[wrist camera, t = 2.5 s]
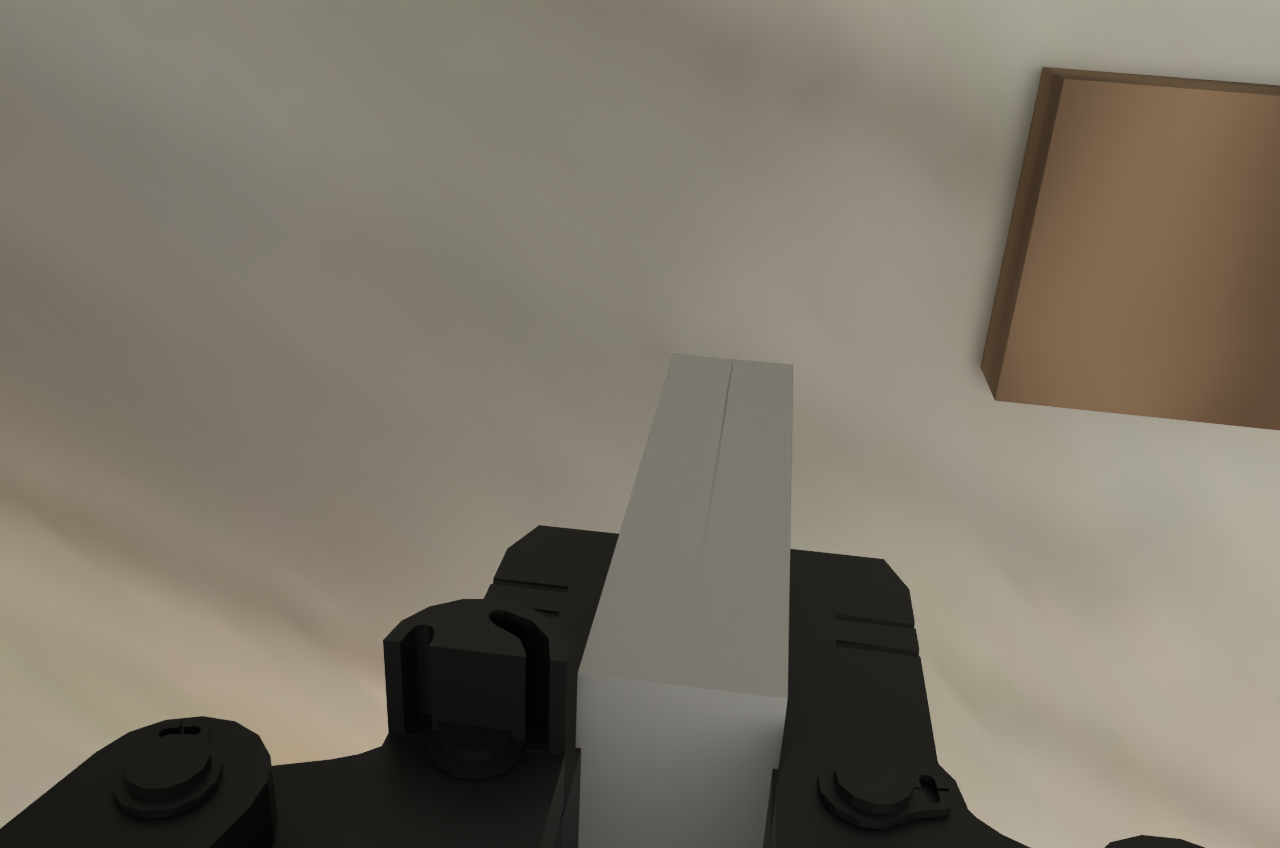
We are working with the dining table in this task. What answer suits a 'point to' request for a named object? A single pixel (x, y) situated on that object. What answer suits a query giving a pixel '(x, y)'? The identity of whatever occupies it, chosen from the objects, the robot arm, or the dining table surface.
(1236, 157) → the tan wooden board
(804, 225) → the dining table surface
